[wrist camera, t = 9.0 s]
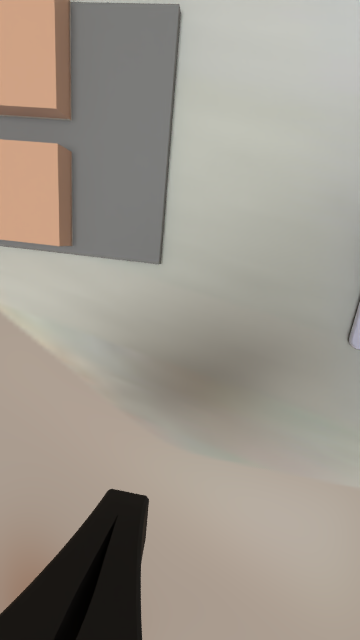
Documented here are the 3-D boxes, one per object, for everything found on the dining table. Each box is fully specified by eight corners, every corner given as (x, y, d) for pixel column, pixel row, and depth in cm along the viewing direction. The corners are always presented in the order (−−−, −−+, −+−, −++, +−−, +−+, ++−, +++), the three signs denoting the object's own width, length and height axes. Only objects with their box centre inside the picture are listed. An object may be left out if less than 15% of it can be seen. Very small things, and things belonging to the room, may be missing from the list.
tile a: (53, -25, 12) (-70, -26, 13) (56, 108, 14) (-55, 101, 14) (70, 2, 14) (-42, 0, 14) (71, 120, 15) (-30, 114, 16)
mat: (180, 12, 14) (179, 4, 13) (160, 263, 17) (158, 264, 17) (-44, 7, 15) (-53, 0, 14) (-22, 242, 18) (-28, 242, 18)
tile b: (57, 143, 14) (-51, 135, 15) (59, 246, 16) (-40, 235, 16) (72, 152, 16) (-27, 144, 16) (72, 245, 17) (-19, 235, 18)
